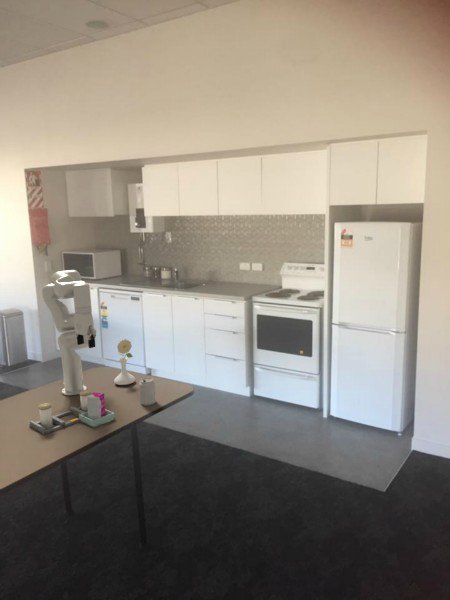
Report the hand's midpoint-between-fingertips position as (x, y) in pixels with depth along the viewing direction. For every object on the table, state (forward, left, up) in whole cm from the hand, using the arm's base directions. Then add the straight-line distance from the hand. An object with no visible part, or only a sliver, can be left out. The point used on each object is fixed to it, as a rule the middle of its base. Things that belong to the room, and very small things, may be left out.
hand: (86, 345), depth 236 cm
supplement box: (+16, -7, -30) cm, 34 cm away
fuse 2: (+4, -5, -30) cm, 31 cm away
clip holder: (+4, -15, -30) cm, 34 cm away
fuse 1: (+4, -25, -30) cm, 39 cm away
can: (+18, +20, -31) cm, 41 cm away
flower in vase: (-14, +30, -31) cm, 45 cm away
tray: (+16, -7, -30) cm, 35 cm away
